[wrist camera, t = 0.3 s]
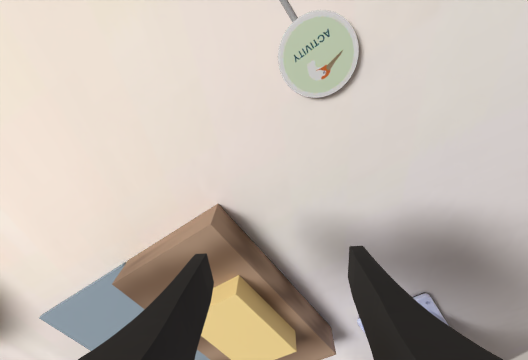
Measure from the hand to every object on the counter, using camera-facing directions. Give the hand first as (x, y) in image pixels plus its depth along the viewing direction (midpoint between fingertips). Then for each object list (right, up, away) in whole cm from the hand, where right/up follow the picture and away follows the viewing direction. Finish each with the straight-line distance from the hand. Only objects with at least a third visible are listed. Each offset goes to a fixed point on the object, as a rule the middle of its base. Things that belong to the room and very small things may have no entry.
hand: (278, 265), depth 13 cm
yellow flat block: (-3, -9, +12) cm, 15 cm away
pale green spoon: (0, +16, +3) cm, 17 cm away
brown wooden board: (-4, -8, +15) cm, 18 cm away
